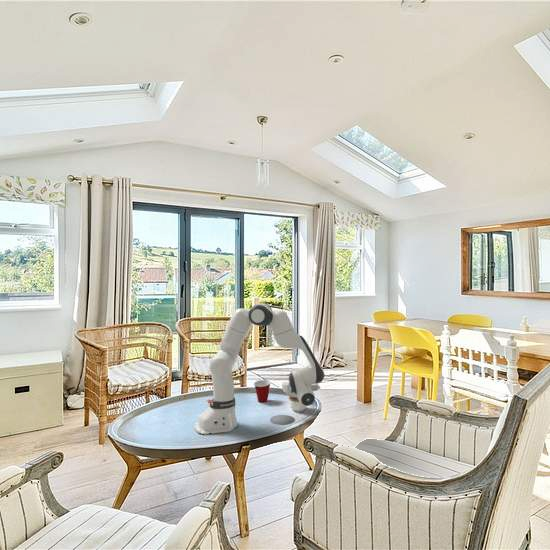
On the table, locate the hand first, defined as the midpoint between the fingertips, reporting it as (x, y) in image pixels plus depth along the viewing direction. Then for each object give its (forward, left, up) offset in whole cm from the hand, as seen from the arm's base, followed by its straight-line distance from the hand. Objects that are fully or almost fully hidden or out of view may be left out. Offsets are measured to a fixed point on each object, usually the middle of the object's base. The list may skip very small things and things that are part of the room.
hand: (298, 381), depth 215 cm
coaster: (-14, -8, -17) cm, 23 cm away
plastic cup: (-12, +24, -17) cm, 32 cm away
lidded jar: (+1, +1, -17) cm, 17 cm away
